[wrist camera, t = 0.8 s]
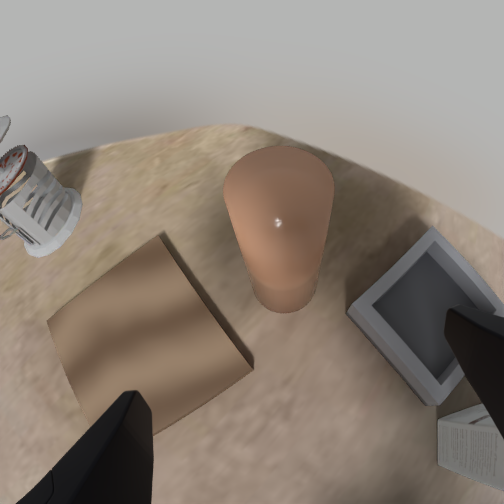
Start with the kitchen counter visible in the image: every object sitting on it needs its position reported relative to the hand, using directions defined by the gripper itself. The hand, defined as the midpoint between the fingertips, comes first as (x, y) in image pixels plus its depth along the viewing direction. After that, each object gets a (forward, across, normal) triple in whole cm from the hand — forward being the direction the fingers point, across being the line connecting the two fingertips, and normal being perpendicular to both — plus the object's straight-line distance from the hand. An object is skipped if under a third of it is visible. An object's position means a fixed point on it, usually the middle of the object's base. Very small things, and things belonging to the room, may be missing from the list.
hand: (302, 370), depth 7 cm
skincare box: (+3, -12, +17) cm, 21 cm away
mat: (+14, +12, +8) cm, 20 cm away
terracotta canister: (+16, -1, +6) cm, 17 cm away
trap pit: (+11, -12, +10) cm, 19 cm away
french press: (+26, +23, -3) cm, 35 cm away
